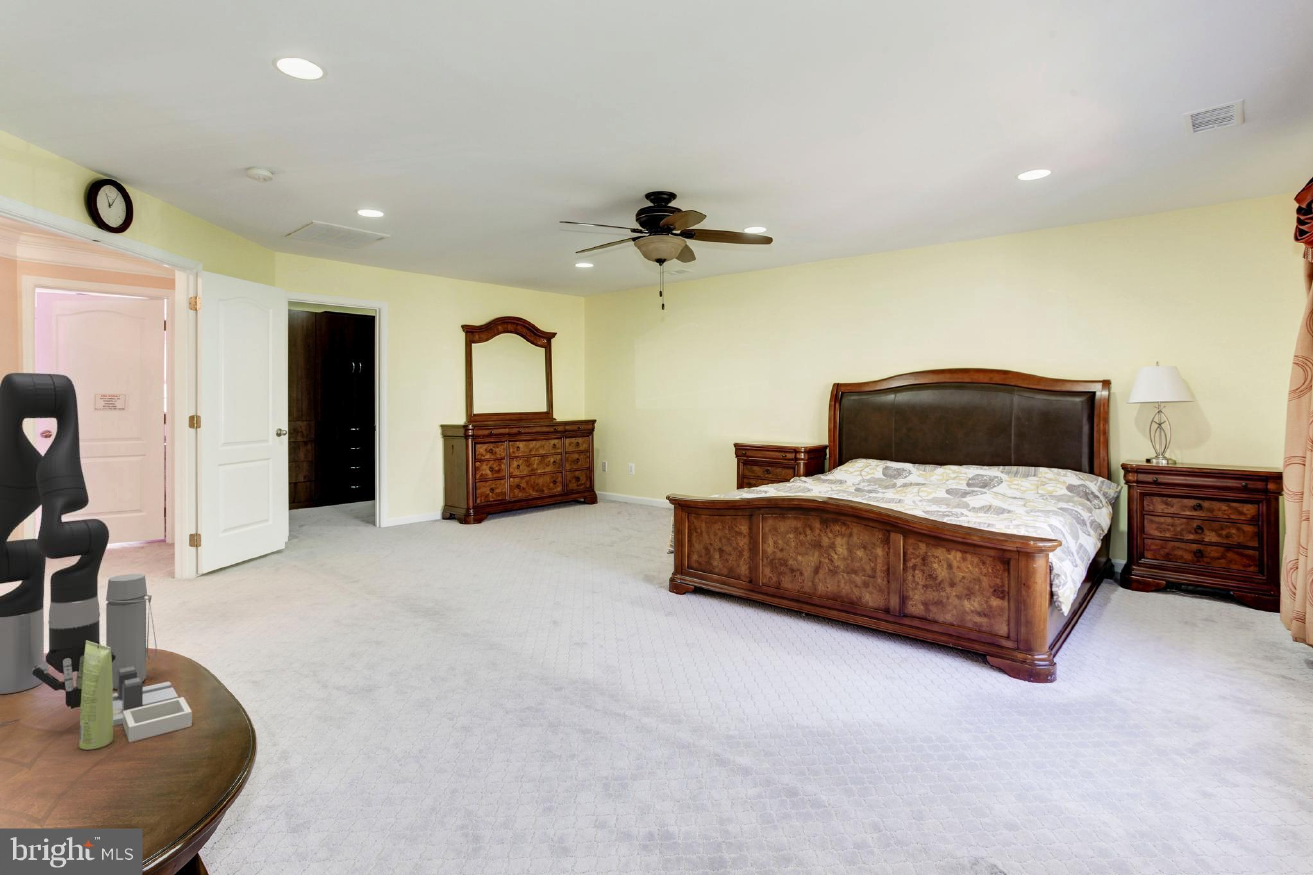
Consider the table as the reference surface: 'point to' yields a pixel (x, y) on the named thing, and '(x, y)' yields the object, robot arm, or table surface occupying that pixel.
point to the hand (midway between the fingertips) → (75, 706)
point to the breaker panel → (145, 699)
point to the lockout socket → (156, 719)
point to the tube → (96, 697)
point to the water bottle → (127, 623)
